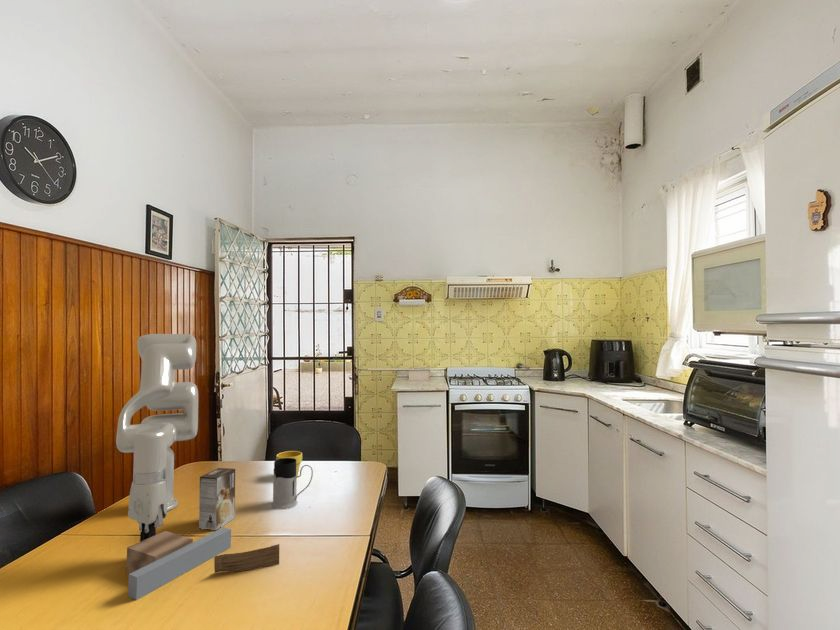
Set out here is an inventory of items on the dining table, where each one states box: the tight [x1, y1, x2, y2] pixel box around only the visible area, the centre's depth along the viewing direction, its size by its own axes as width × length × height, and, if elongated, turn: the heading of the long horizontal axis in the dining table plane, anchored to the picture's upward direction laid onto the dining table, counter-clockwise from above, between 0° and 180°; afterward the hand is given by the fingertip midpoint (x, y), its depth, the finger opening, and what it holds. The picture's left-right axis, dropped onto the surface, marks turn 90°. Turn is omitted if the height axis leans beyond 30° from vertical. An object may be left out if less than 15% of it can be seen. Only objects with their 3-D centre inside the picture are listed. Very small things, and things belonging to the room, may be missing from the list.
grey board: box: [127, 526, 232, 601], centre depth 108 cm, size 3×26×5 cm, turn 156°
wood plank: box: [213, 543, 280, 573], centre depth 109 cm, size 15×2×5 cm, turn 111°
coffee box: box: [198, 467, 236, 531], centre depth 134 cm, size 9×6×16 cm
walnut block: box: [125, 530, 194, 574], centre depth 110 cm, size 11×10×6 cm
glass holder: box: [271, 458, 314, 510], centre depth 150 cm, size 9×14×15 cm, turn 88°
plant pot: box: [275, 450, 303, 476], centre depth 177 cm, size 10×10×10 cm
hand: (147, 544), depth 114 cm, fingers closed
